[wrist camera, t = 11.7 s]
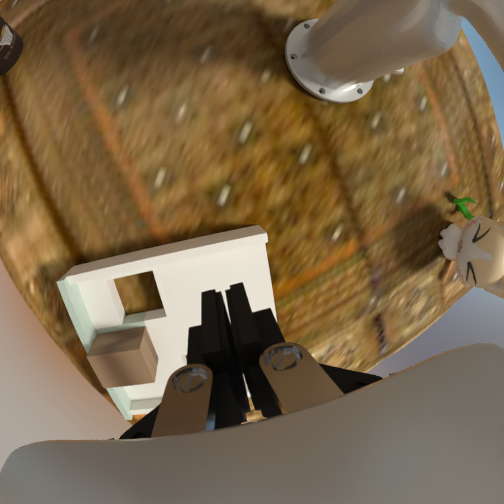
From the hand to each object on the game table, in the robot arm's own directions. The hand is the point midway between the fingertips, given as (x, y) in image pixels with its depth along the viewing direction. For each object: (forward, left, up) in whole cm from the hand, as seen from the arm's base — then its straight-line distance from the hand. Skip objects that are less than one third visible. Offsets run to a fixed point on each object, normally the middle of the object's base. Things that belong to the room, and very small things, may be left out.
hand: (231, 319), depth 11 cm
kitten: (-39, +10, -23) cm, 46 cm away
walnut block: (+14, +13, -21) cm, 28 cm away
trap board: (+6, +13, -23) cm, 27 cm away
